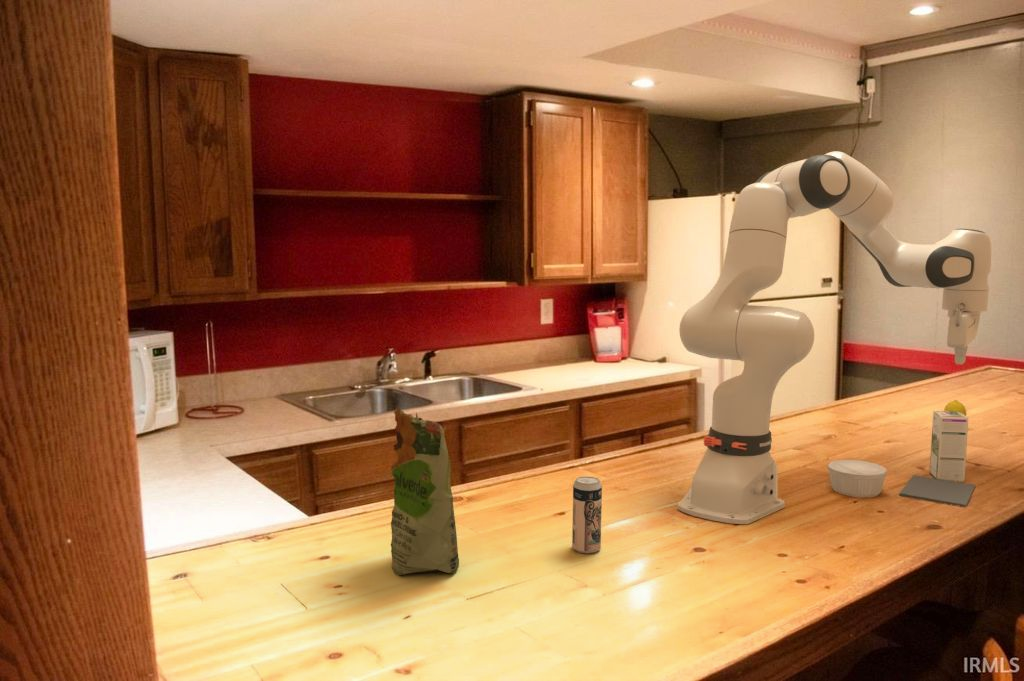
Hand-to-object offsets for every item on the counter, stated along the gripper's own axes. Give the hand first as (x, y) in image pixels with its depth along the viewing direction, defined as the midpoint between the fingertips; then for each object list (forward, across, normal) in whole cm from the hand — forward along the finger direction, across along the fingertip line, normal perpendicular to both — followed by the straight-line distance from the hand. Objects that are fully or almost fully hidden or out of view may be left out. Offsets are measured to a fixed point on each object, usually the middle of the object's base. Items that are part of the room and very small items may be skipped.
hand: (959, 363), depth 181 cm
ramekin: (+24, -31, +14) cm, 42 cm away
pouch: (+24, -114, +60) cm, 131 cm away
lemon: (+25, +45, +5) cm, 51 cm away
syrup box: (+24, -9, 0) cm, 26 cm away
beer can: (+24, -92, +43) cm, 105 cm away
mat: (+24, -21, 0) cm, 32 cm away
